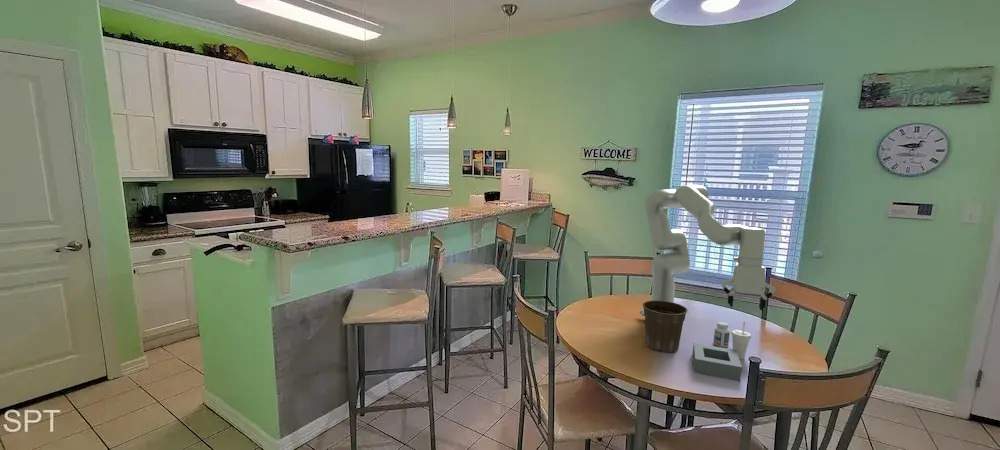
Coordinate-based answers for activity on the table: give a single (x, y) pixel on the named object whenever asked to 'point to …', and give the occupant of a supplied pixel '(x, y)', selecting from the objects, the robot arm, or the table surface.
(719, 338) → the pill bottle
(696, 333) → the table surface
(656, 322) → the plant pot
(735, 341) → the smoothie
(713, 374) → the socket
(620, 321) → the table surface
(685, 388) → the table surface
